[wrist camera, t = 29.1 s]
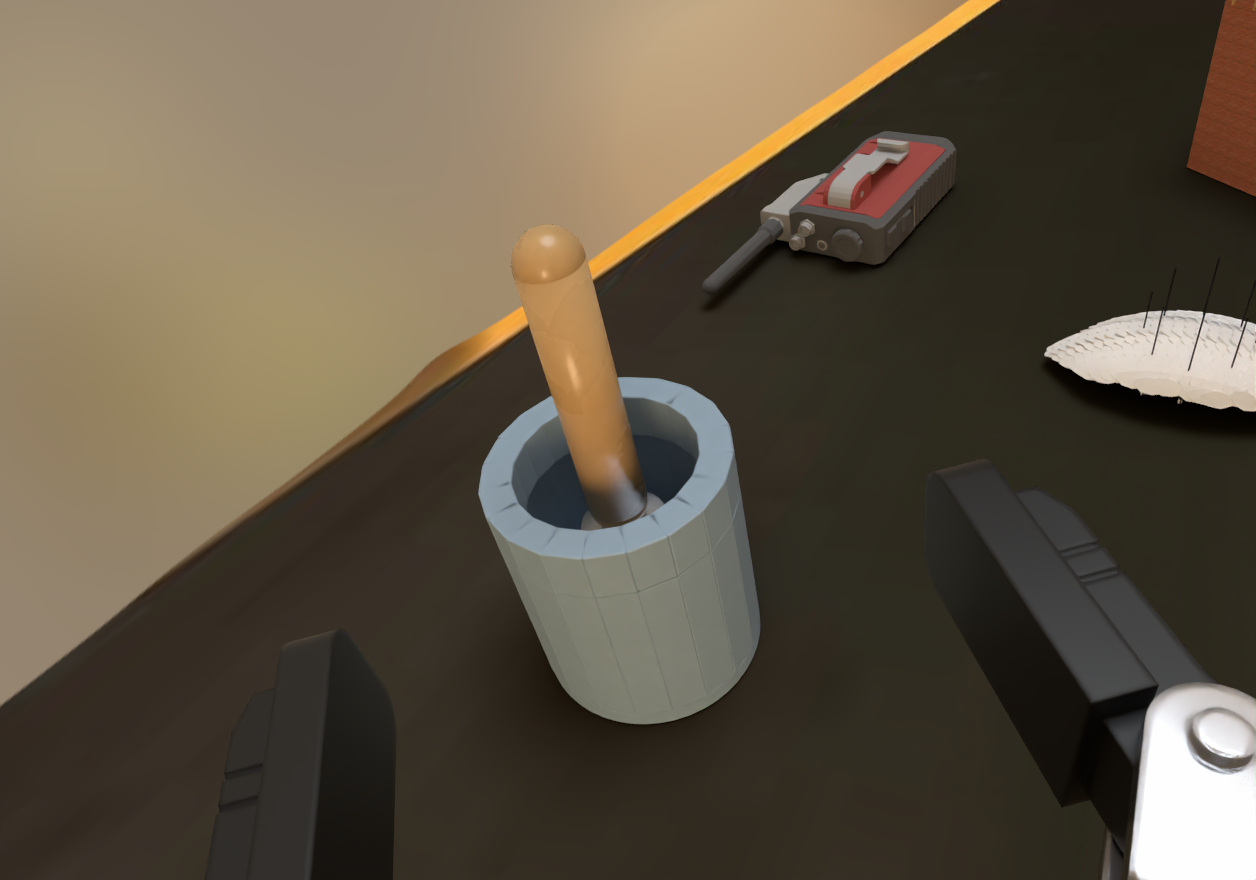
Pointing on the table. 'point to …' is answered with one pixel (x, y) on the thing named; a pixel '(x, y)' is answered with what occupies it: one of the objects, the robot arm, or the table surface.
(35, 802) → the table surface
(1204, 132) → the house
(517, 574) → the jar
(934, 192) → the walkie-talkie
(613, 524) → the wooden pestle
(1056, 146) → the table surface
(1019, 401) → the table surface
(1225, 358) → the pincushion
